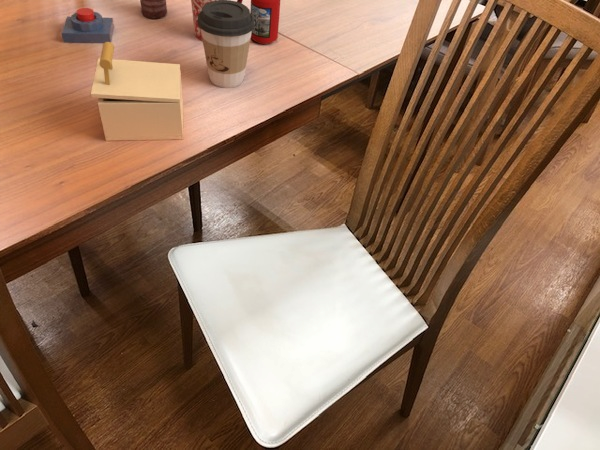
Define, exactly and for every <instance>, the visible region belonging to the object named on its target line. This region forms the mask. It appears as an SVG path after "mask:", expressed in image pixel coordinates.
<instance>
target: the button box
mask: <svg viewBox="0 0 600 450" xmlns="http://www.w3.org/2000/svg"><path fill="white" fill-rule="evenodd" d="M94 16H95V19H94V20H93V21H89V22H82V21H79V20H78V17H77V13H76V12H74V13H73V14H71V16H66V19H65V21H64V25H63V28H62V30H61V36H62V40H63V43H69V44H70V43H72V44H73V43H75V44H76V43H78V44H85V43H86V44H104V43H105V42H111V43H112V40H113V35H114V29H115V24H114V17H103V16H102V15H101V13H99V12H97V11H94Z"/></svg>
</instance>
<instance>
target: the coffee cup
mask: <svg viewBox="0 0 600 450" xmlns="http://www.w3.org/2000/svg"><path fill="white" fill-rule="evenodd" d="M250 11H251V9H249V7H248V6H247V5H246V4H243V2H242V3H239V2H237V0H236V1H235V0H216V1H212V2H209V3H207V4H205V5H204V6H203V7H202V11H201V12H200V13H199V14H198V20H197V24H198V26H199V27H200V28H201V34H202V39H203V41H202V45H203V52H204V57H205V61H206V68H207V73H208V77H209V80H210V82H211V84H213V85H214V86H217V87H219V88H223V89H231V88H236V87H238V86H240V85H241V84H242V83H243V82H244V79H245V77H246V71H247V70H246V69H247V63H248V57H249V51H250V43H251V39H252V38H251V32H252V30H253V29H254V27H255V22H254V17H253V16H252V14H251V13H250Z"/></svg>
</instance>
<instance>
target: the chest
mask: <svg viewBox="0 0 600 450" xmlns="http://www.w3.org/2000/svg"><path fill="white" fill-rule="evenodd" d="M97 99H98V100H97V108H98V112H99V116H100V121H101V125H102V129H103V135H104V139H105V141H106V142H110V141H111V142H112V141H114V142H115V141H116V142H117V141H119V142H120V141H165V140H166V141H167V140H184V100H183V86H182V74H181V72H180V103H175V102H158V101H141V100H125V99H108V98H97Z"/></svg>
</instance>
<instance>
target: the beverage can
mask: <svg viewBox="0 0 600 450" xmlns="http://www.w3.org/2000/svg"><path fill="white" fill-rule="evenodd" d="M280 11H281V0H250V13H251V14H252V16H253V17H254V22H255V27H254V29H253V30H252V32H251V39H252V40H253V41H254V42H256V43H258V44H260V45H269V44H272V43H274V42H276V41H277V40H278V38H279V28H280V27H279V26H280V14H281V12H280Z"/></svg>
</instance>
